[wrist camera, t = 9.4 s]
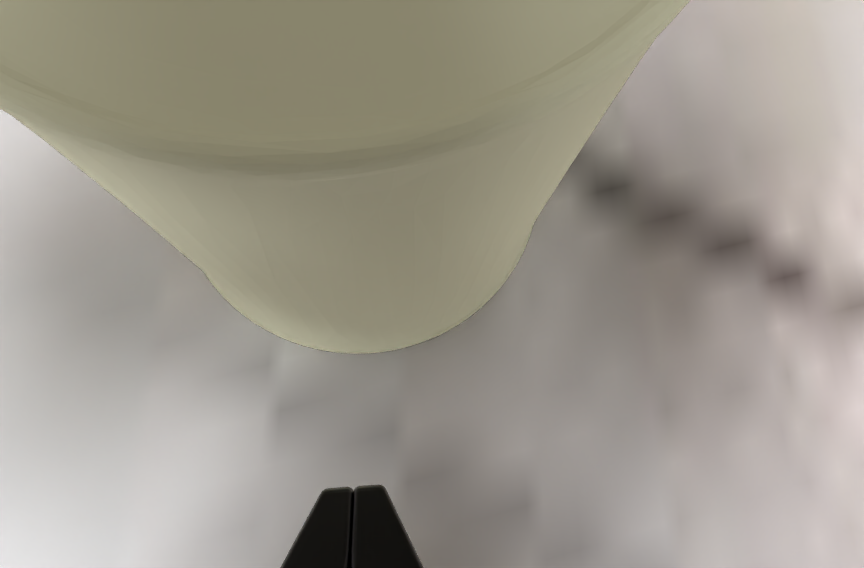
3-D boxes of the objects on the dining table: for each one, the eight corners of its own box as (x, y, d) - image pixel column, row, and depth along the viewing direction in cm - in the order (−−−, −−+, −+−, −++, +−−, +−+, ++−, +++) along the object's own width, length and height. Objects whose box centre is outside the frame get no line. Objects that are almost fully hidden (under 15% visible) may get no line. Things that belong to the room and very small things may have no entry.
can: (564, 61, 18) (848, -588, 7) (500, 391, 16) (756, 278, 5) (238, -12, 18) (-41, -784, 7) (133, 308, 16) (-533, -9, 5)
